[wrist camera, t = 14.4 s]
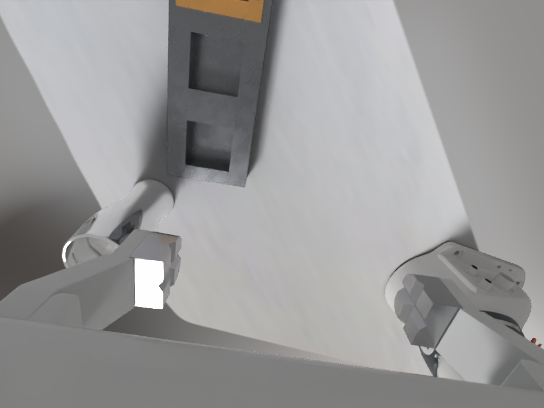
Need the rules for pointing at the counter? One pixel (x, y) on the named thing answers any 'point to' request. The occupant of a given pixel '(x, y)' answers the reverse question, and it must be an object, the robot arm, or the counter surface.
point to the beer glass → (119, 222)
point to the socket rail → (214, 86)
